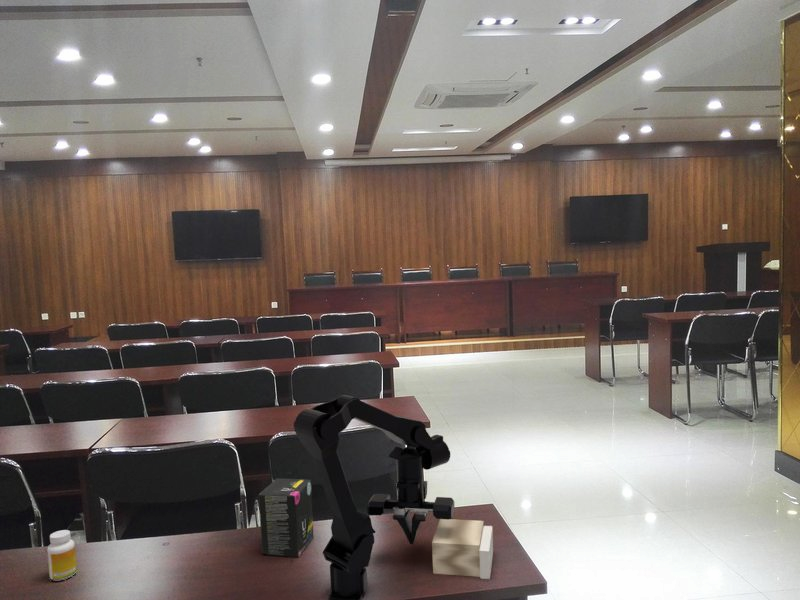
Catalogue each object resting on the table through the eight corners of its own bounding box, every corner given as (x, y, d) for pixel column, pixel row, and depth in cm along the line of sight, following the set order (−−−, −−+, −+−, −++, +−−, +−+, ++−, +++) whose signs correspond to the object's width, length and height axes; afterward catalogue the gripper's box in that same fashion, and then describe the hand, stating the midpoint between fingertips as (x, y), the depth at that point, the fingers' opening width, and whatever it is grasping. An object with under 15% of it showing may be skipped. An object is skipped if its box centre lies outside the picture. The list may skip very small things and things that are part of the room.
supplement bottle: (82, 573, 138) (78, 531, 137) (58, 584, 134) (55, 541, 133) (68, 568, 141) (64, 526, 140) (44, 579, 136) (40, 536, 136)
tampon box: (299, 558, 141) (295, 495, 140) (261, 555, 143) (257, 494, 142) (315, 536, 152) (312, 478, 151) (279, 534, 154) (276, 477, 153)
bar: (480, 578, 129) (479, 550, 129) (484, 551, 141) (483, 525, 141) (489, 579, 129) (489, 551, 128) (493, 551, 141) (492, 526, 140)
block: (433, 574, 132) (432, 542, 132) (441, 548, 144) (440, 518, 143) (480, 577, 130) (479, 545, 130) (484, 550, 142) (483, 520, 141)
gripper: (456, 464, 143) (458, 530, 144) (378, 461, 147) (380, 525, 148) (450, 481, 132) (452, 553, 133) (365, 477, 136) (368, 547, 137)
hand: (412, 543), depth 138 cm, fingers closed
